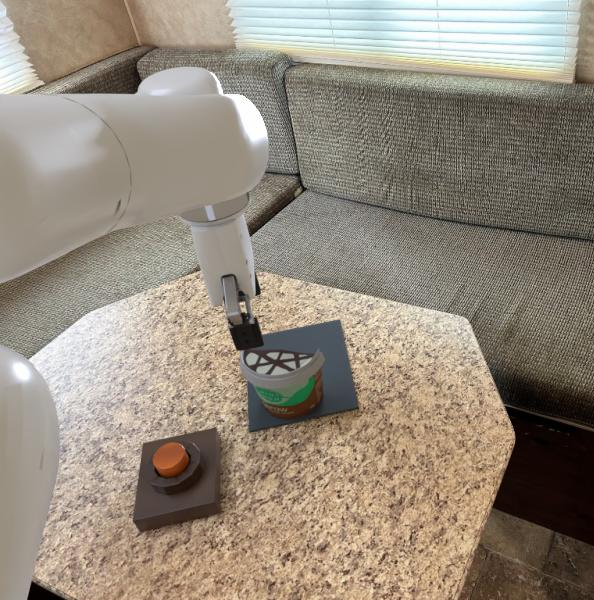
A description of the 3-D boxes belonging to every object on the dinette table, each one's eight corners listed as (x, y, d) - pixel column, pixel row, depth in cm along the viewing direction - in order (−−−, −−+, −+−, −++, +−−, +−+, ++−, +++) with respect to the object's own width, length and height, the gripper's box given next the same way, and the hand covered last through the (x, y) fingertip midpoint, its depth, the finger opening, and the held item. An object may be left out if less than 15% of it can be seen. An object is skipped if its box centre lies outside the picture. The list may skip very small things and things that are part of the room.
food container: (240, 422, 88) (222, 374, 81) (255, 390, 92) (239, 342, 86) (322, 430, 86) (310, 382, 79) (333, 396, 90) (322, 348, 84)
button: (188, 474, 77) (183, 464, 76) (156, 481, 77) (151, 472, 75) (190, 449, 80) (185, 439, 79) (159, 455, 80) (154, 446, 78)
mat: (359, 408, 89) (358, 406, 88) (249, 432, 87) (248, 431, 86) (340, 320, 104) (339, 319, 103) (246, 339, 102) (245, 337, 102)
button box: (220, 513, 77) (210, 493, 74) (140, 532, 76) (127, 513, 73) (221, 438, 86) (212, 418, 83) (149, 454, 85) (138, 434, 82)
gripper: (179, 164, 69) (219, 284, 79) (167, 247, 55) (217, 377, 66) (246, 154, 69) (276, 273, 80) (249, 232, 56) (285, 363, 67)
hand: (249, 320), depth 73 cm, fingers open, 9 cm apart
